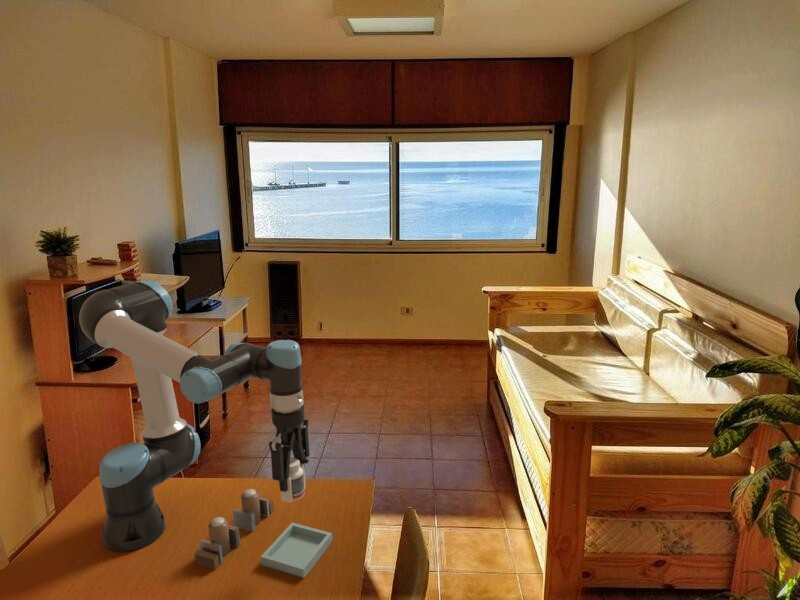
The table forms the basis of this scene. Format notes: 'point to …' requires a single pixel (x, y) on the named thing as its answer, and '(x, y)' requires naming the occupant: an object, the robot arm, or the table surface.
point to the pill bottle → (296, 479)
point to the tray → (297, 550)
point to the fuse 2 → (251, 503)
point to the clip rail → (230, 535)
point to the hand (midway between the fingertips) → (293, 493)
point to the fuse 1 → (220, 534)
